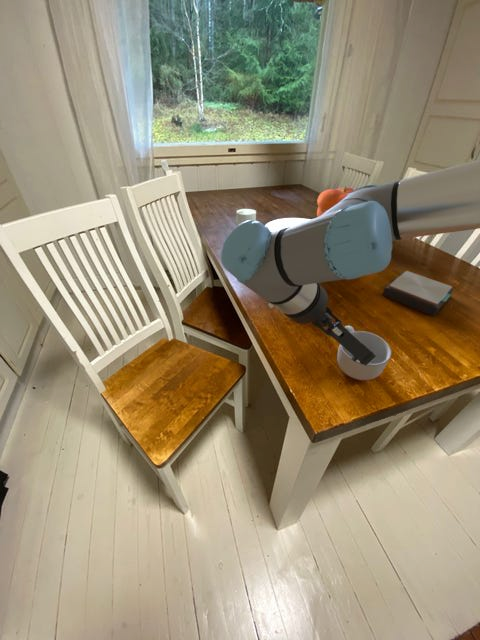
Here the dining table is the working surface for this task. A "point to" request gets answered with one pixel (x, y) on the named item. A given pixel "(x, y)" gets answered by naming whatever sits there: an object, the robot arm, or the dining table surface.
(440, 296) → the scale
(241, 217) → the can
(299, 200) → the dining table surface
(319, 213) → the pumpkin
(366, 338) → the teacup
